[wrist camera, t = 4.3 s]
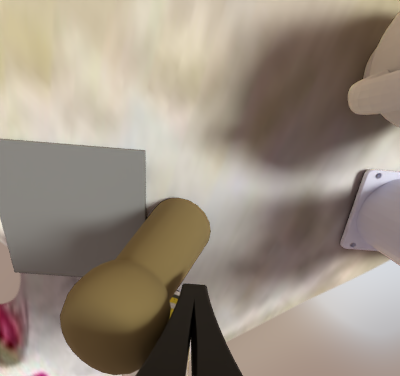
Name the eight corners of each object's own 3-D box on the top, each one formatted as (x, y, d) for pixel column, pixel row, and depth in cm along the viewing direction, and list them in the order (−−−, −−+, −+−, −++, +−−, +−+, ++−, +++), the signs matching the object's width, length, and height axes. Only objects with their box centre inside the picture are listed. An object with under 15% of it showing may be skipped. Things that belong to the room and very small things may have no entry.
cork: (152, 250, 20) (50, 376, 10) (149, 195, 18) (20, 277, 8) (209, 259, 19) (162, 418, 8) (211, 201, 17) (155, 309, 7)
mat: (145, 150, 17) (143, 150, 16) (146, 278, 21) (145, 281, 21) (-16, 137, 17) (-21, 137, 16) (18, 269, 21) (14, 272, 20)
